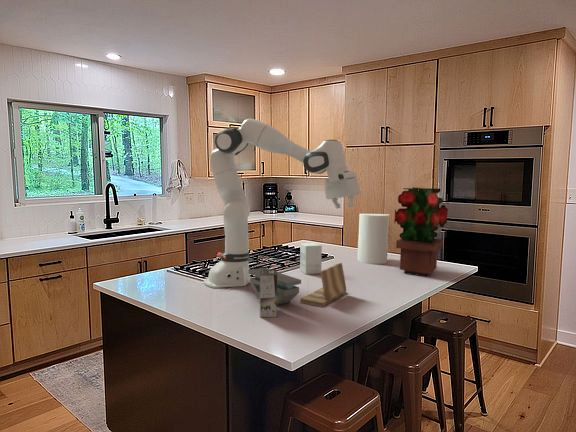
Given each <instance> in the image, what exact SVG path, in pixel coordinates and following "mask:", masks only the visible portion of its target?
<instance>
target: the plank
mask: <svg viewBox="0 0 576 432" xmlns="http://www.w3.org/2000/svg"><path fill="white" fill-rule="evenodd" d="M343 267H344V266H343V262H339V263H336V264H334V265H332V266H329V267H327V268H324V269H321V271H320V272H321V273H320V277H321V283H322V288H323V290H324V295H325V301H329V300H331V299H332V298H334V297H336V296H337V295H339V294H341V293H343V292H344V291H346V292H347V286H346V284H347V283H346V280H345V279H346V278H345V273H344V272H345V271H344V268H343Z"/></svg>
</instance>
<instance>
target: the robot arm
mask: <svg viewBox="0 0 576 432" xmlns="http://www.w3.org/2000/svg"><path fill="white" fill-rule="evenodd" d="M249 144H250V145H253V146H255V147H257V148H258V149H261V150H262V151H266V152H269V153H273V154H281V155H285V156H288V157H291V158H293V159H295V160H296V161H299V162H300V163H302V164H303V167H304V169H305V170H306V171H307V172H309V173H311V174H316V175H321V174H324V173H326V172H327V178H326V180H325V181H324V195H325V199H327V200H331V201H332V203H333V205H334V207H335V209H340V208H341V204H340V203H339V201H338V199H339V198H340V199H341V198H346V197H347V198H348V203H347V205H348V207H349V208H353V207H354V204H355V203H354V201H355V196H357V195H359V194H360V190H361V189H360V184H359V181H358V179H357V175H358V174H357V172H356V171H354V170H350V169H348V166H347V163H346V156H345V151H344V147H343V144H342V143H341V141H340V140H337V139H326V140H323V141H322V142H321V143H320V145H318V146H317V147H316V148H314V149H313V150H310V149H307V148H306V147H303V146H301V145H299V144H297V143H295V142H293V141H292V140H290V139H289V138H288V137H287V136H286V135H285V134H283V132H281V131H280V130H278V129H276V127H274V126H272V125H270V124H268V123H266V122H264V121H261V120H258V119H255V118H247V119H245V120H243V122H242V123H241V124H240V127H239V128H236V127H231V128H224V129H221V130H220V131H218V132H217V133H216V135H215V138H214V145H215V147H216V148H215V149H213V150H212V151H211V152H210V154H209V163H210V168H211V169H210V170H211V173H212V176H213V179H214V182H215V185H216V189H217V192H218V193H219V195H220V197H221V199H222V201H223V204H224V208H223V212H222V214H223V228H224V230H223V231H224V235H225V236H224V247H225V248H224V252H218V253H217V256H218V257H219V258H220V259H221V260H220V261H218V262H217V263H216V264H214V265H213V266H212V267H211V268H210V269H209V272H208V277H207V278H204V279H203V284H204V285H205V286H207V287H209V288H213V289H216V288H217V289H218V288H233V287H235V288H237V287H245V286H247V284H250V278H252V277H251V274H249V270H250V265H249V263H250V251H249V243H250V242H249V241H250V239H249V238H250V237H249V236H250V235H249V225H248V224H249V222H248V221H249V220H248V218H249V216H250V213H251V207H250V204H249V201H248V198H247V196H246V194H245V191H244V189H243V186H242V184H241V180H240V176H239V174H238V171H237V167H236V165H235V160H234V158H235V156H238V155H239V154H240V153H241V152H242V151H244V150H245V149H246V148H247V147H248V145H249Z"/></svg>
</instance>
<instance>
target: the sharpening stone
mask: <svg viewBox="0 0 576 432" xmlns="http://www.w3.org/2000/svg"><path fill="white" fill-rule="evenodd" d="M261 269H264V270H265V269H267V268H266V267H258V268H253V269H249V274H250V276H251V275H252V276H254V277H251V278H250V283H249V284H250V286H251V288H252V290H253V292H254V294H255V296H256V298H257V299H258V300H260V270H261ZM301 284H302V279H300V278H296V277H294V276H290V275H287V274H284V273H281V272H277V306H279V305H282V304H288V303H291V301H292V300H293V299H294V298H295V297H297V296H298V294H299V293H300V287H299V286H298V285H301Z"/></svg>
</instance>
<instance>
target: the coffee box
mask: <svg viewBox="0 0 576 432" xmlns="http://www.w3.org/2000/svg"><path fill="white" fill-rule="evenodd" d="M277 306H278V305H277V269H274V268H273V269H271V268H266V269H265V270H264V269H261V270H260V299H259V317H260V318H276V317H277V311H278V310H277Z"/></svg>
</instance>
